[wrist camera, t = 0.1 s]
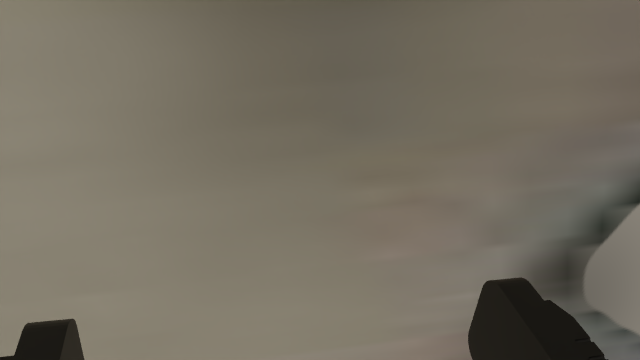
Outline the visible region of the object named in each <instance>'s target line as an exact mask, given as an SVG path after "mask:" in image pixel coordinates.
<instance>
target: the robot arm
mask: <svg viewBox="0 0 640 360" xmlns="http://www.w3.org/2000/svg"><path fill="white" fill-rule="evenodd" d="M468 343H469V349H470V353H471V357H472V359H473V360H606V359H605V358H604V354H603V353H602V351H601V350H600V349H599V348H598V347H597V345H596V344H595V343H594V342H591V341H590V337H589V336H588V334H587V333H586V332H585V331H584V330H583V328H582V327H581V326H580V325H579V323H578V322H577V321H576V320H575V319H574V317H572V316H571V315H570V314H568V313H567V312H566V311H564V310H563V309H561V308H560V307H559V306H557V305H556V304H555V303H553V302H552V301H550V300H546V301H544V300H543V299H542V298H541V296H540V295H539V294H538V293H537V291H536V290H535V289H534V287H533V286H532V285H531V284H530V283H529V281H527V280H526V279H524V278H511V279H501V280H490V281H487V282H486V283H485V284H484V285H483V288H482V291H481V294H480V297H479V300H478V304H477V307H476V310H475V313H474V316H473V320H472V323H471V326H470V329H469V334H468ZM0 360H84V356H83V352H82V347H81V343H80V338H79V334H78V329H77V325H76V322H75V320H74V319H65V320H55V321H44V322H34V323H27V324H26V325H25V327H24V328H23V331H22V334H21V337H20V340H19V343H18V346H17V349H16V352H15V355H14V356H7V357H0ZM607 360H608V359H607Z"/></svg>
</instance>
